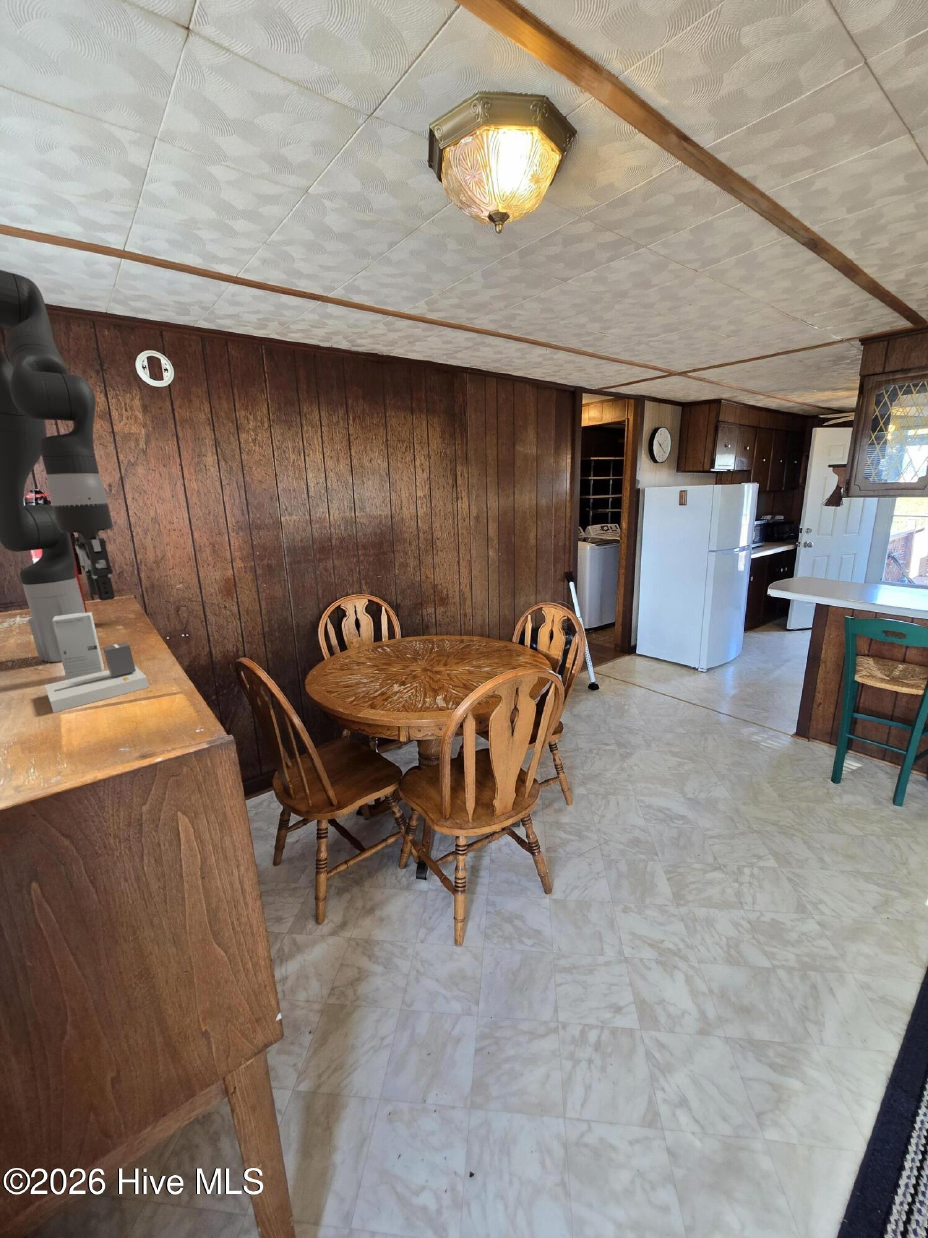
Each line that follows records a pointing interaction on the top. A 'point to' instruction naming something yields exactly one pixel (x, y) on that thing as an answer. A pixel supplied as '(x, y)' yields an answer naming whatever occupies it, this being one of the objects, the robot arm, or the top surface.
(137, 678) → the fader console
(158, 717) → the top surface
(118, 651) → the fader knob
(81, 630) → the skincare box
